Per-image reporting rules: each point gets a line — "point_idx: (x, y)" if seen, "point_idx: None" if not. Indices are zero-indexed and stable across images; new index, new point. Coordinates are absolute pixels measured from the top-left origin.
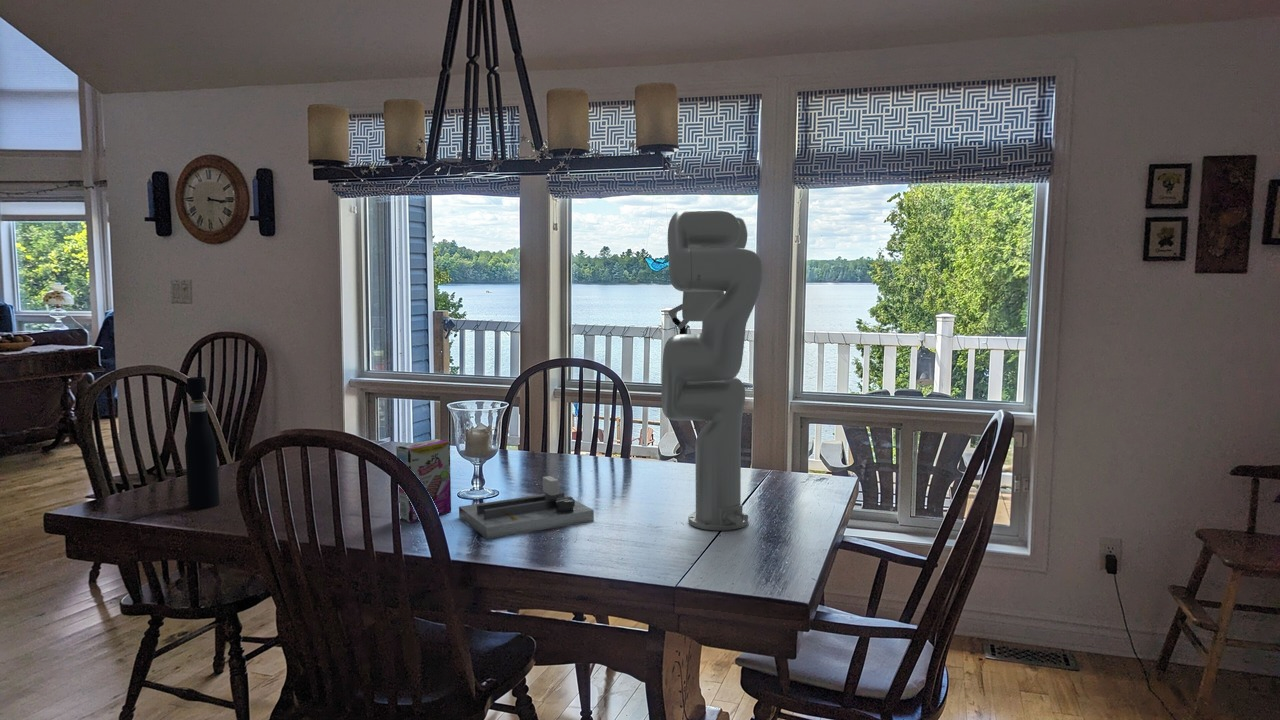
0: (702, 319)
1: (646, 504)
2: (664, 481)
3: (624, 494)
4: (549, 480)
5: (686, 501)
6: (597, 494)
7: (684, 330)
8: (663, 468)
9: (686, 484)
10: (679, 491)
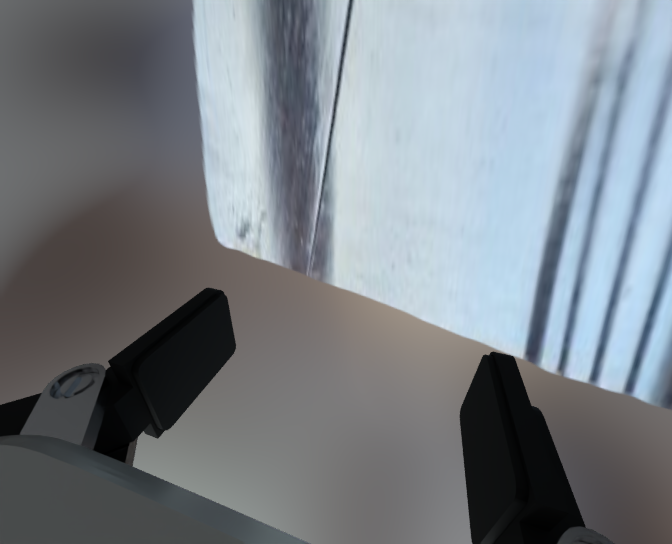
0: (203, 541)
1: (549, 7)
2: (480, 214)
3: (589, 99)
4: None
5: (450, 56)
6: (667, 89)
7: (522, 481)
8: (471, 299)
9: (439, 193)
10: (457, 139)
